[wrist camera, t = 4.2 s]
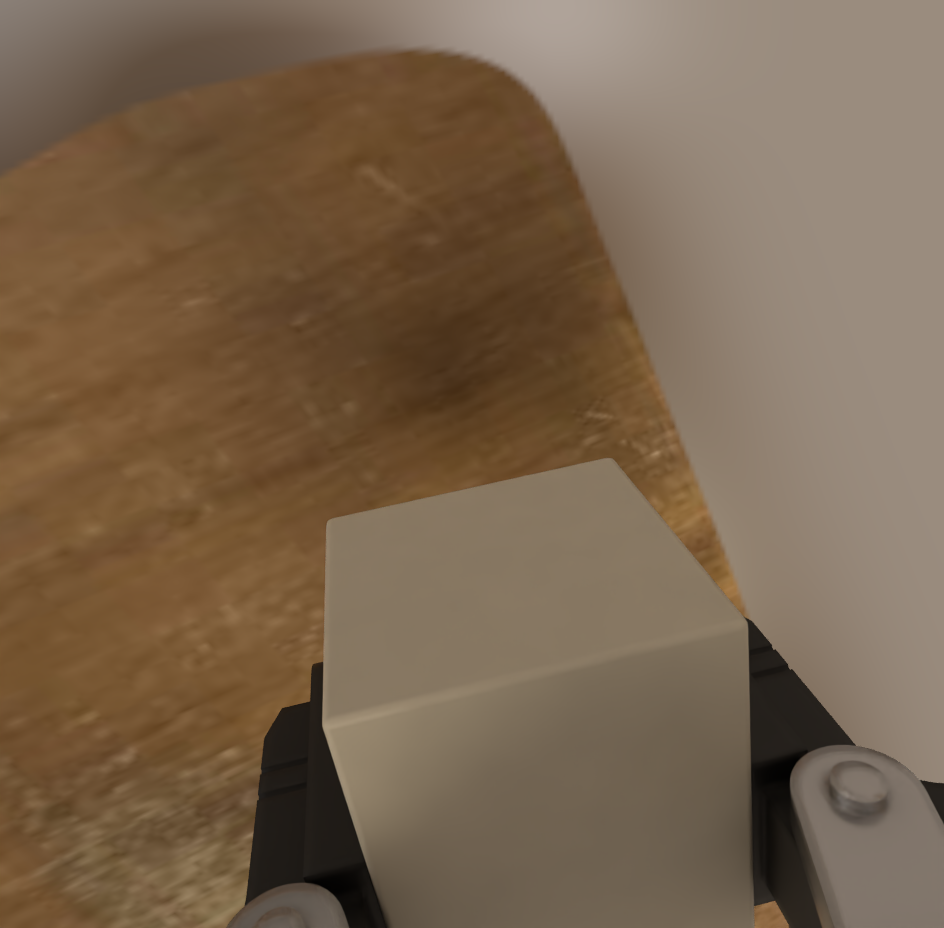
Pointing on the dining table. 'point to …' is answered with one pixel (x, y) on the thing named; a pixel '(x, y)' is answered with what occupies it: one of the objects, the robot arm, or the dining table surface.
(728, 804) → the tea packet
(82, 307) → the dining table surface
